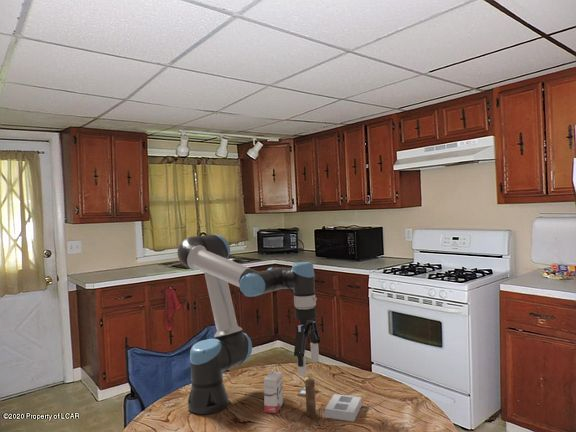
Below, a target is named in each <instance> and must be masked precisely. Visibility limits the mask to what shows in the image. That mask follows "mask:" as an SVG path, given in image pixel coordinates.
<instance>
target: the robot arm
mask: <svg viewBox="0 0 576 432" xmlns="http://www.w3.org/2000/svg"><path fill="white" fill-rule="evenodd" d="M176 254H177V257H178V260H179V261H180V263H181V264H182V266H183V265H184V266H185V267H187V268H189V269H191V270H195V271H197V270H199V271H201V272H202V273H204V274H203V275H204V278H205V283H206V286H207V293H208V297H209V299H210V300H209V301H210V305H211V311H212V315H213V319H214V325H215V328H216V329H215V330H216V332H215V334H214V335H213V338H208V339H204V340H203V339H202V340H200V341H197V342H196V343H195V344H193V345H192V346H191V348H190V351H189V353H190V354H189V362H190V381H191V388H190V392H189V396H188V400H187V410H188V409H189V410H190V411H191V412H190V411H189V410H188V411H189V412H190V413H192V412H193V413H192V414H194V413H197V414H196V415H210V414H211V415H212V414H214V413H218V412H221V411H223V410H224V409H226V408H227V407H228V406H229V404H230V403H229V401H230V399H229V394H228V392H227V389H226V387H225V384H224V379H223V378H224V377H223V372H226V371H228V370H230V369H232V368H235V367H237V366H241V365H242V364H243V363H245V362H246V361H248V360H249V358H250V357H251V355H252V352H253V351H252V350H253V343H252V340H251V337H249V335H248V334H247V333H245V332H244V331H243V328H242V327H240V326H239V325H238V322H237V321H238V320H237V318H236V312H235V307H234V304H233V300H232V294H231V290H230V285H229V284H231V285H233V286H235V287H238V288H239V290H240V292H241V293H242V294H243V296H245V297H249V298H250V297H258V296H261V295H263V294H267V293H271V292H275V291H279V290H293V304H294V307H295V308H294V317H295V319H296V320H297V321H299V325H298V324H297V325H296V326H295V341H294V351H293V356H294V357H296V361H297V362H296V363H297V376H300V377H307V362H306V361H307V360H306V355H305V353H306V352H305V351H306V348H307V347H306V346H307V340H308V338H309V340H310V355H311V356H310V361H311V362H314V363H319V362H320V353H319V344H320V343H321V337H320V336H321V335H320V332H319V329H318V323H317V316H318V314H317V307H316V305H317V300H318V298H317V297H316V284H315V279H316V278H315V277H316V276H315V275H316V274H315V270H314V264H313V263H312V262H310V261H300V262H299V261H298V262H293V263H292V264H291V266H292V267H280V266H275V267H268V268H267V269H266V270H263V271H257V270H255V269H252V268H250V267H247V266H246V265H243V264H240V263H239V262H235V261H233V260H231V259H229V258H230V254H231V247H230V244H229V242H228V240H227V239H226V238H225V237H223V236H222V235H220V234H205V235H197V236H196V235H193V236H189V237H187V238H185V239H183V240H182V241H181V242H180V244H179V245H178V248H177V252H176Z"/></svg>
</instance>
